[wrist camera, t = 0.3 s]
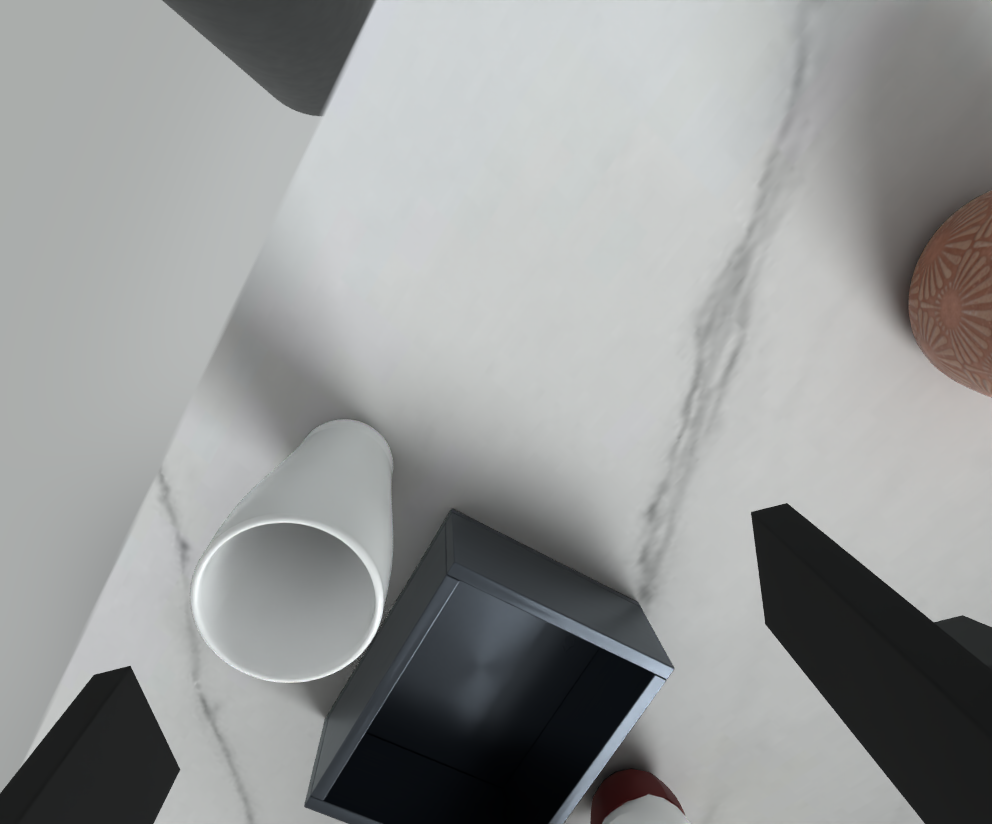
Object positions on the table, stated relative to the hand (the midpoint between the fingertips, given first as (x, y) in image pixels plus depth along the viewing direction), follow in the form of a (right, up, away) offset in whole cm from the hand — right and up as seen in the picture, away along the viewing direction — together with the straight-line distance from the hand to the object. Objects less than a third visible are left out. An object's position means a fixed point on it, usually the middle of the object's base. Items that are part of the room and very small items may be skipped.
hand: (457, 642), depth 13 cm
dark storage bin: (0, -11, +28) cm, 30 cm away
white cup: (-8, +2, +24) cm, 25 cm away
